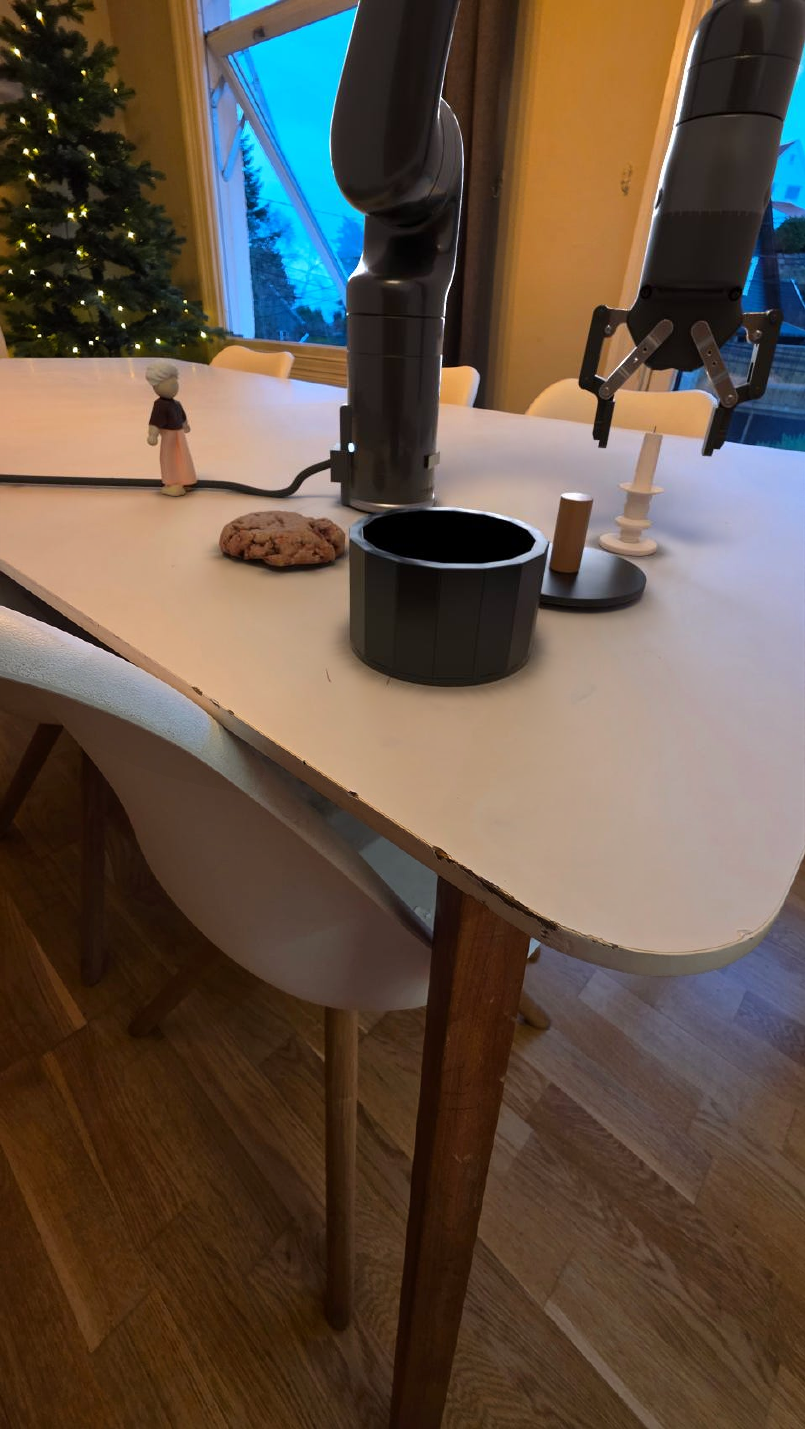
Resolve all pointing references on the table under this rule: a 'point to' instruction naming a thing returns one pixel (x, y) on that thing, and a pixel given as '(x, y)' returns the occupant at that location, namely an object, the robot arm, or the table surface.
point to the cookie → (282, 538)
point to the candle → (637, 504)
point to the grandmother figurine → (170, 429)
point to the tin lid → (585, 563)
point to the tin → (444, 593)
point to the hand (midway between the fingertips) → (652, 450)
